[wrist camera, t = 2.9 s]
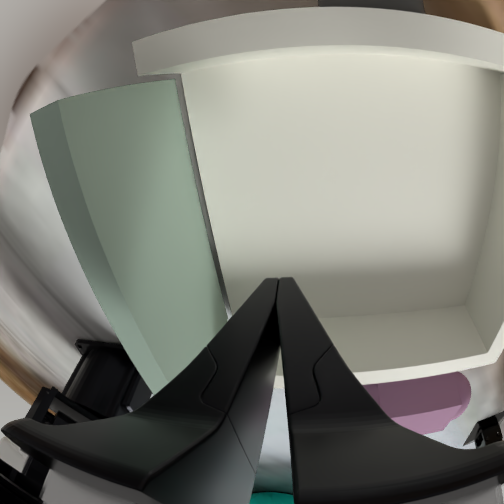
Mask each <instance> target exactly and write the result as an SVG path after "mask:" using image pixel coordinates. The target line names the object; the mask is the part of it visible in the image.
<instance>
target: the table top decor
mask: <svg viewBox="0 0 504 504" xmlns="http://www.w3.org/2000/svg"><path fill="white" fill-rule="evenodd" d="M249 504H294V497H293V495H290V494H285V493H277V492H261V493H253V494H251V498H250V502H249Z"/></svg>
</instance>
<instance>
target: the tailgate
mask: <svg viewBox="0 0 504 504" xmlns="http://www.w3.org/2000/svg"><path fill="white" fill-rule="evenodd" d="M30 117H31V122H32V126H33V130H34V134H35V138H36V142H37V145H38V149H39V153H40V156H41V160H42V163H43V166H44V170H45V173H46V176H47V179H48V182H49V185H50V188H51V191H52V194H53V197H54V200H55V203H56V205H57V208H58V211H59V214H60V216H61V219H62V222H63V224H64V227H65V229H66V232H67V234H68V237H69V239H70V241H71V244H72V246H73V249H74V251H75V253H76V255H77V258H78V260H79V262H80V264H81V267H82V269H83V271H84V273H85V275H86V277H87V279H88V282H89V284H90V286H91V288H92V290H93V292H94V294H95V296H96V298H97V300H98V302H99V304H100V306H101V308H102V309H103V311H104V313H105V315H106V317H107V319H108V321H109V323H110V324H111V326H112V328H113V330H114V332H115V333H116V335H117V337H118V339H119V340H120V342H121V344H122V345H123V347H124V349H125V350H126V352H127V354H128V355H129V357H130V359H131V360H132V362H133V364H134V365H135V367H136V368H137V370H138V372H139V373H140V375H141V376H142V378H143V379H144V381H145V382H146V384H147V385H148V387H149V388H150V390H151V391H152V393H153V394H154V395H155V394H156V393H157V392H159V391H160V390H161V389H162V388H163V387H164V386H166V385H167V384H168V383H169V382H170V381H171V380H173V379H174V378H175V377H176V376H177V375H178V374H179V373H180V372H181V371H182V370H183V369H185V368H186V367H187V366H188V365H189V364H190V363H191V362H192V360H193V359H194V358H195V357H196V356H197V355H198V354H199V353H200V352H201V351H202V350H203V349H204V347H207V344H208V343H209V342H210V341H211V340H212V339H213V337H214V336H215V335H216V334H217V333H218V332H219V331H220V330H221V328H222V327H223V326H224V325H225V324H226V323H227V319H228V316H227V313H226V309H225V305H224V301H223V297H222V293H221V289H220V285H219V281H218V277H217V273H216V269H215V265H214V261H213V257H212V253H211V248H210V244H209V240H208V236H207V231H206V227H205V223H204V218H203V214H202V210H201V205H200V201H199V196H198V192H197V187H196V182H195V178H194V173H193V168H192V164H191V159H190V154H189V149H188V144H187V139H186V135H185V130H184V124H183V119H182V114H181V109H180V104H179V98H178V93H177V88H176V82H175V79H171V80H162V81H153V82H146V83H139V84H132V85H126V86H120V87H114V88H109V89H104V90H99V91H94V92H89V93H85V94H81V95H76V96H72V97H68V98H64V99H60V100H57V101H55V102H53V103H51V104H49V105H47V106H45V107H43V108H41V109H39V110H37V111H35V112H33V113H31V114H30Z"/></svg>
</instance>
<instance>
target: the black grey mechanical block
mask: <svg viewBox="0 0 504 504" xmlns="http://www.w3.org/2000/svg"><path fill="white" fill-rule="evenodd" d="M503 419H504V411H503V412H501V413H498V414H496V415H494V416H491V417H489V418H486V419H483V420H481V421H478V422H477V423H476V425H475V426H474V428H473V430H472V432H471V433H470V435H469V437H468V438H467V440H466V441H465V443H464V445H467V444H470V443H472V442H475V445H476V448H481V447H484V446H487V445H489V444H492V443H495V442H499V441H503V440H502V438H503V437H502V433H501V429H500V426H499V425H500V423H501V422H502V421H503ZM497 432H499V433H497ZM464 445H463V446H464Z"/></svg>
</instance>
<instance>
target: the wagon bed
mask: <svg viewBox="0 0 504 504" xmlns="http://www.w3.org/2000/svg"><path fill="white" fill-rule="evenodd" d="M318 4H319V7H305V8H289V9H278V10H268V11H260V12H252V13H245V14H239V15H233V16H227V17H222V18H216V19H212V20H207V21H202V22H198V23H194V24H190V25H186V26H182V27H178V28H174V29H171V30H167V31H164V32H160V33H157V34H154V35H150V36H147V37H144V38H141V39H138V40H135V41H133V42H132V47H133V53H134V59H135V65H136V70H137V76H146V75H159V74H175V73H181V77H182V83H183V89H184V94H185V99H186V105H187V110H188V116H189V121H190V126H191V131H192V136H193V141H194V146H195V151H196V156H197V161H198V166H199V171H200V176H201V181H202V186H203V190H204V195H205V200H206V204H207V209H208V214H209V218H210V223H211V227H212V232H213V236H214V241H215V245H216V249H217V254H218V258H219V262H220V267H221V271H222V275H223V279H224V284H225V288H226V292H227V296H228V300H229V304H230V309H231V313H232V316H233V315H234V314H235V312H236V311H237V310H238V309H239V308H240V307H241V306H242V304H243V303H244V302H245V301H246V300H247V299H248V297H249V296H250V295H251V294H252V293H253V292H254V291H255V289H256V288H257V287H258V286H259V285H260V284H261V282H262V281H263V280H264V279H265V278H275V277H277V278H279V279H280V278H281V277H293V278H294V279H295V281H296V283H297V284H298V286H299V288H300V289H301V291H302V292H303V294H304V296H305V297H306V299H307V301H308V302H309V304H310V306H311V307H312V309H313V311H314V312H315V314H316V315H317V317H318V319H319V320H320V322H321V324H322V325H323V327H324V329H325V330H326V332H327V334H328V335H329V337H330V339H331V340H332V342H333V344H334V346H335V347H336V349H337V350H338V352H339V354H340V355H341V357H342V358H343V360H344V361H345V363H346V364H347V366H348V367H349V369H350V370H351V371H352V373H353V374H354V375H355V377H356V378H357V379H358V380H359V382H360V383H361V384H362V385H366V384H376V383H385V382H394V381H402V380H409V379H416V378H422V377H429V376H435V375H440V374H446V373H451V372H456V371H461V370H466V369H471V368H475V367H480V366H484V365H488V364H492V363H495V362H496V361H497V359H498V357H499V356H500V354H501V352H502V350H503V349H504V33H501V32H497V31H494V30H491V29H488V28H484V27H481V26H477V25H474V24H470V23H466V22H462V21H457V20H453V19H448V18H444V17H438V16H433V15H427V14H425V11H424V5H423V0H318ZM273 388H284V378H283V368H282V358H281V349H280V353H279V359H278V365H277V371H276V376H275V382H274V387H273Z"/></svg>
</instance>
